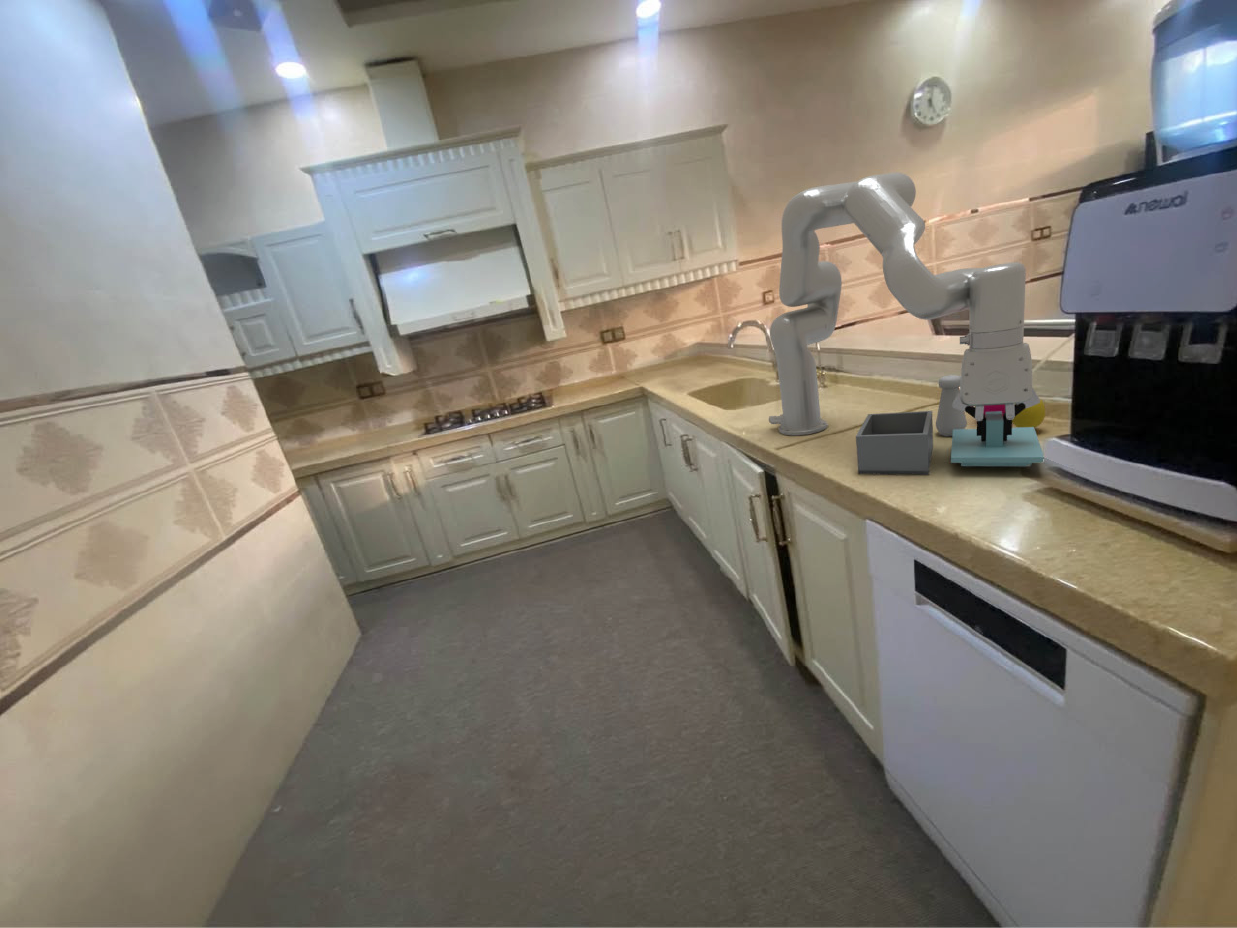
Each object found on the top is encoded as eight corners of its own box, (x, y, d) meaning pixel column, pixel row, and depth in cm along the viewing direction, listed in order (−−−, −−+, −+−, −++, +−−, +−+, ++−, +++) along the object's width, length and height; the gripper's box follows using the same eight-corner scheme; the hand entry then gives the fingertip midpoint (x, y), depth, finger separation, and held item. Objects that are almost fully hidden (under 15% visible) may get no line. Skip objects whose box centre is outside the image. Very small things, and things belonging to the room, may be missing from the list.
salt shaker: (962, 428, 111) (962, 371, 107) (970, 435, 106) (971, 376, 102) (932, 431, 113) (931, 375, 109) (939, 438, 108) (938, 380, 104)
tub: (858, 474, 99) (855, 436, 96) (870, 448, 111) (868, 414, 109) (928, 474, 92) (927, 434, 90) (933, 447, 104) (932, 410, 102)
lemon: (1039, 426, 103) (1041, 389, 100) (1048, 434, 98) (1050, 395, 96) (1006, 428, 105) (1007, 392, 103) (1013, 436, 100) (1014, 398, 98)
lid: (951, 468, 89) (950, 431, 87) (953, 439, 102) (952, 406, 100) (1043, 469, 82) (1045, 428, 80) (1033, 437, 94) (1034, 401, 92)
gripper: (939, 349, 87) (941, 446, 93) (1060, 335, 78) (1054, 444, 83) (941, 342, 93) (942, 434, 99) (1053, 329, 84) (1048, 431, 89)
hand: (993, 438), depth 91 cm, fingers closed on lid, 2 cm apart
